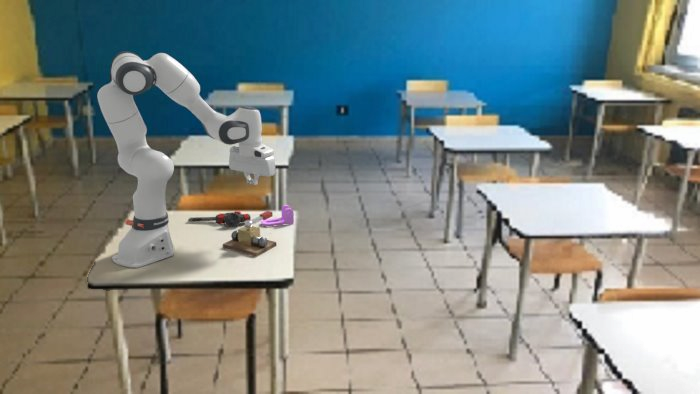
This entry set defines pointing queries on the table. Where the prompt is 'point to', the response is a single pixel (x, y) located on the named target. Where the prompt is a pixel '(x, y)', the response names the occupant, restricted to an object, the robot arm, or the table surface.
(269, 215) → the valve lever
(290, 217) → the bracket
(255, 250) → the walnut board
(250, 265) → the table surface
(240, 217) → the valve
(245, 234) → the ball valve
